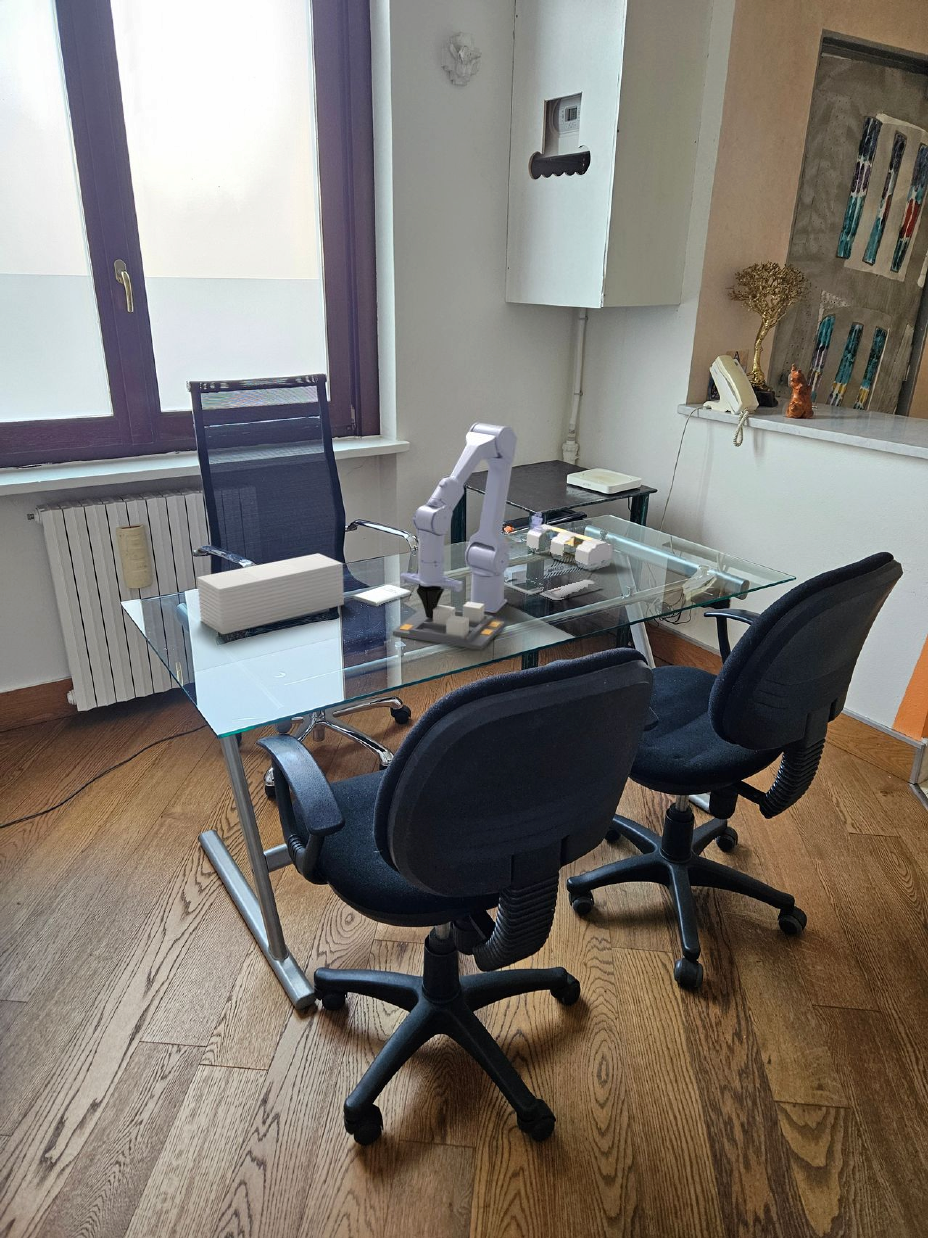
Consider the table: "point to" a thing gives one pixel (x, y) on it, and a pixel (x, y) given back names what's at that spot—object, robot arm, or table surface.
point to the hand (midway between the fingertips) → (430, 616)
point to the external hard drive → (381, 595)
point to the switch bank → (433, 632)
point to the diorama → (570, 543)
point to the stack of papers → (270, 592)
